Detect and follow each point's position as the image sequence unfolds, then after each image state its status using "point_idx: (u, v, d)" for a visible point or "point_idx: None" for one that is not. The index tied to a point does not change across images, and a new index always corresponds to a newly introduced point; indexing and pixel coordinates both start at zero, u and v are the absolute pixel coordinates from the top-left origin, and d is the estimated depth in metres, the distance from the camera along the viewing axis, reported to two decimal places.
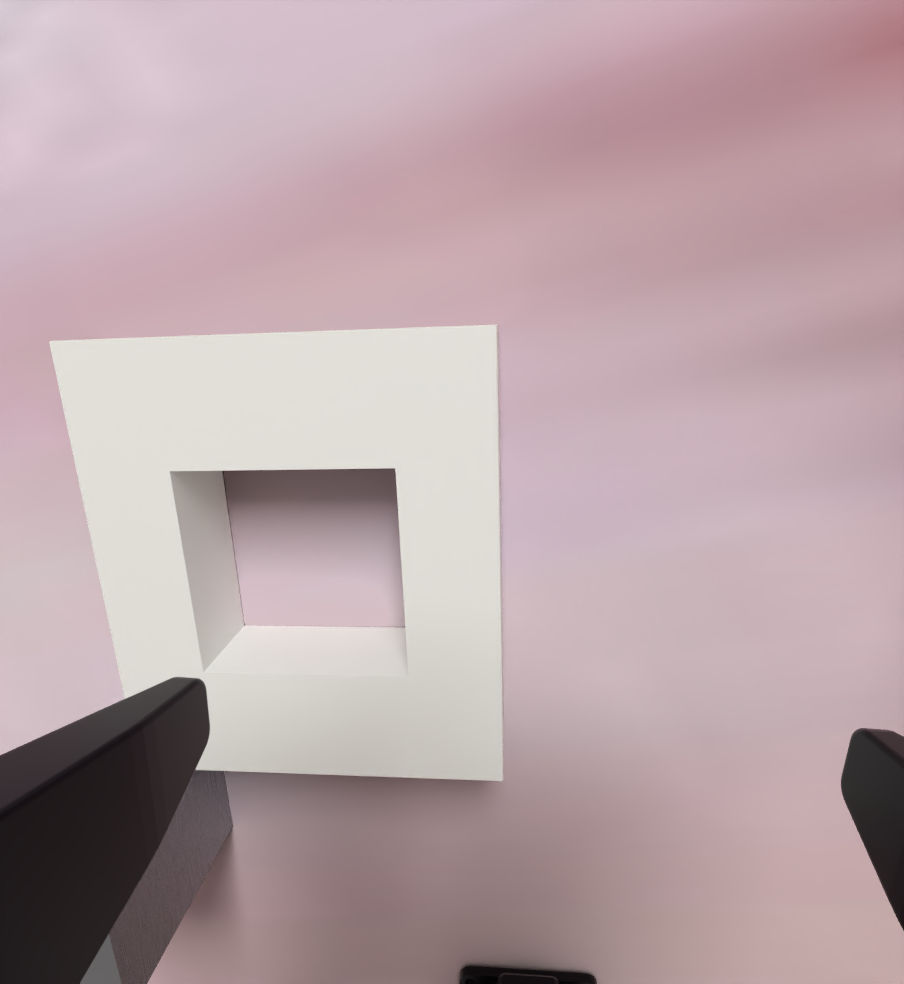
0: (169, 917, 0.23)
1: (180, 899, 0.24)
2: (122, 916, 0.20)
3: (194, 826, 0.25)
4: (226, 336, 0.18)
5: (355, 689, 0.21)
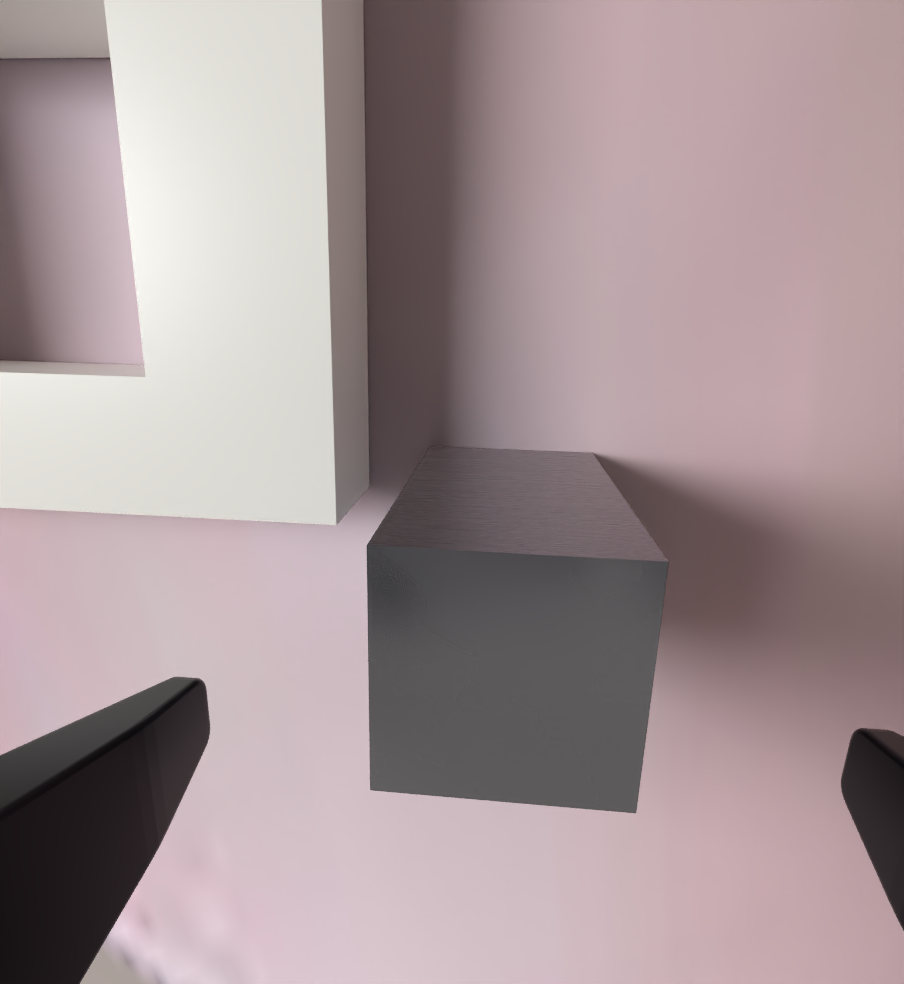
0: (583, 504, 0.12)
1: (580, 493, 0.12)
2: (433, 533, 0.10)
3: (492, 471, 0.14)
4: None
5: (140, 92, 0.12)
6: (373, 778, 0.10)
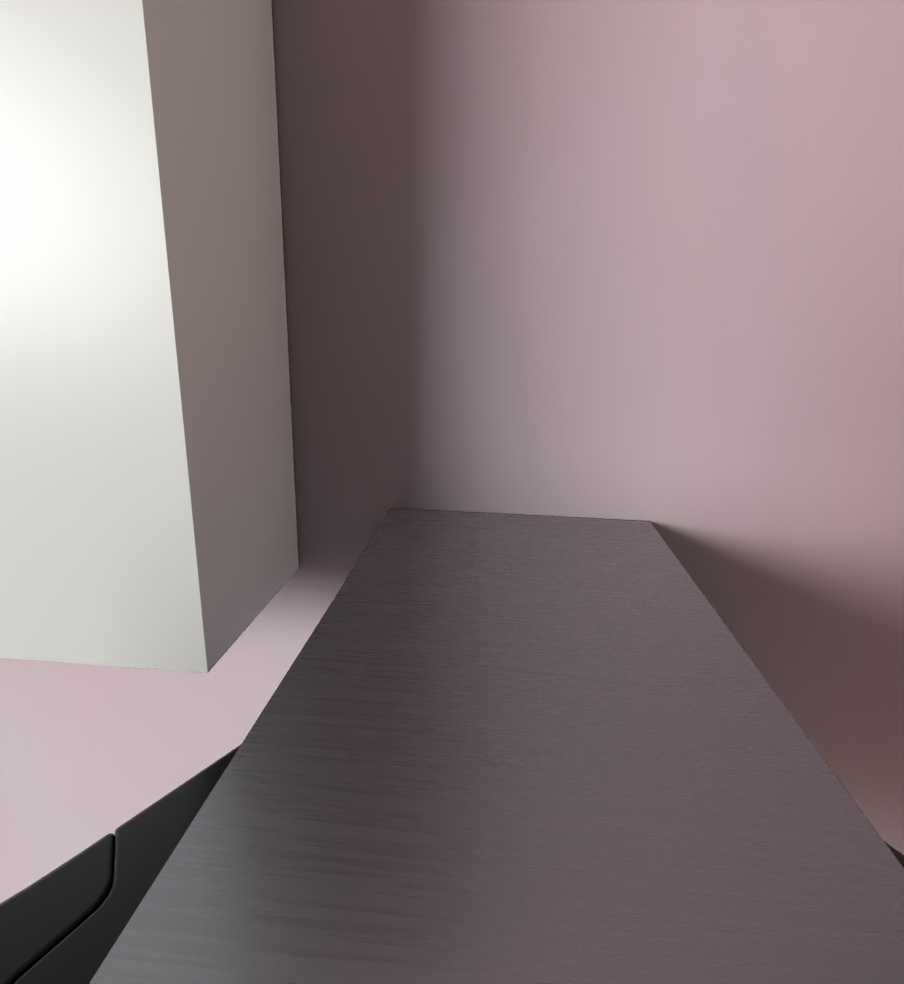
0: (682, 698, 0.05)
1: (664, 652, 0.06)
2: (318, 876, 0.04)
3: (487, 577, 0.08)
4: None
5: None
6: None
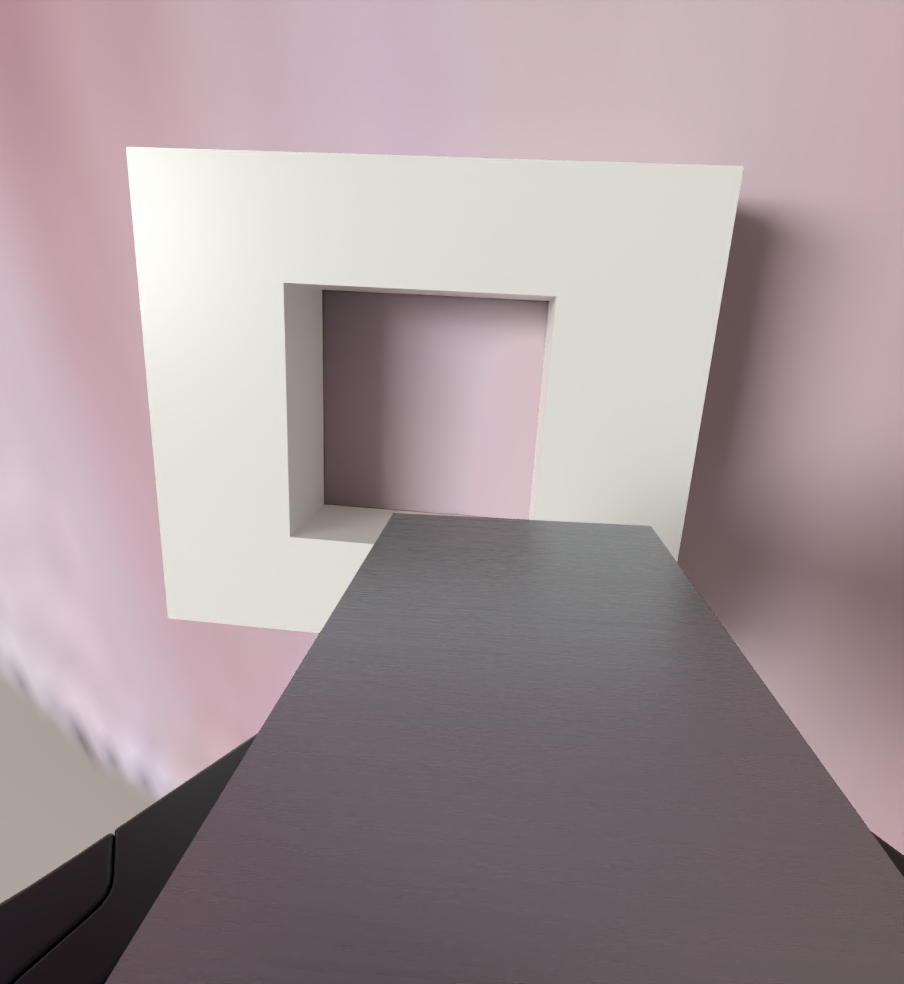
0: (685, 706, 0.05)
1: (666, 660, 0.06)
2: (322, 890, 0.04)
3: (488, 582, 0.08)
4: (154, 447, 0.18)
5: (569, 371, 0.16)
6: None
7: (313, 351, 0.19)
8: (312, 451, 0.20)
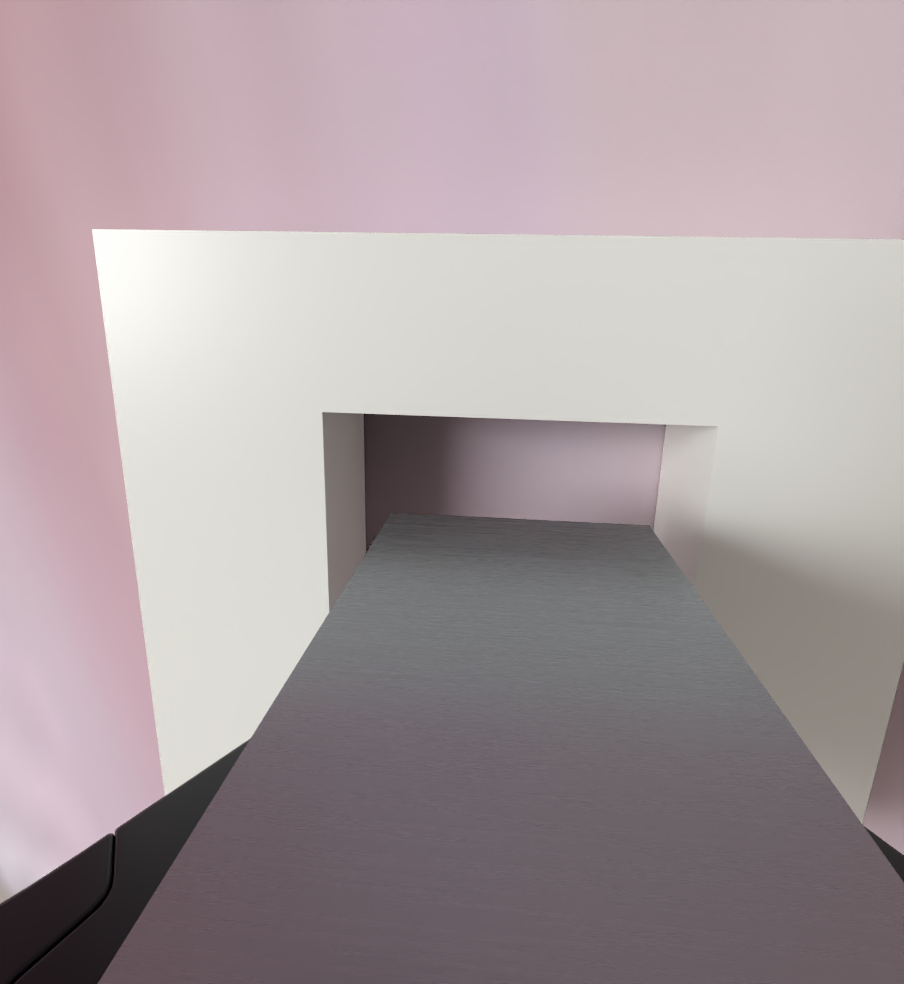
0: (682, 707, 0.05)
1: (664, 659, 0.06)
2: (317, 888, 0.04)
3: (486, 582, 0.08)
4: (144, 627, 0.13)
5: (733, 526, 0.12)
6: None
7: (355, 478, 0.15)
8: None
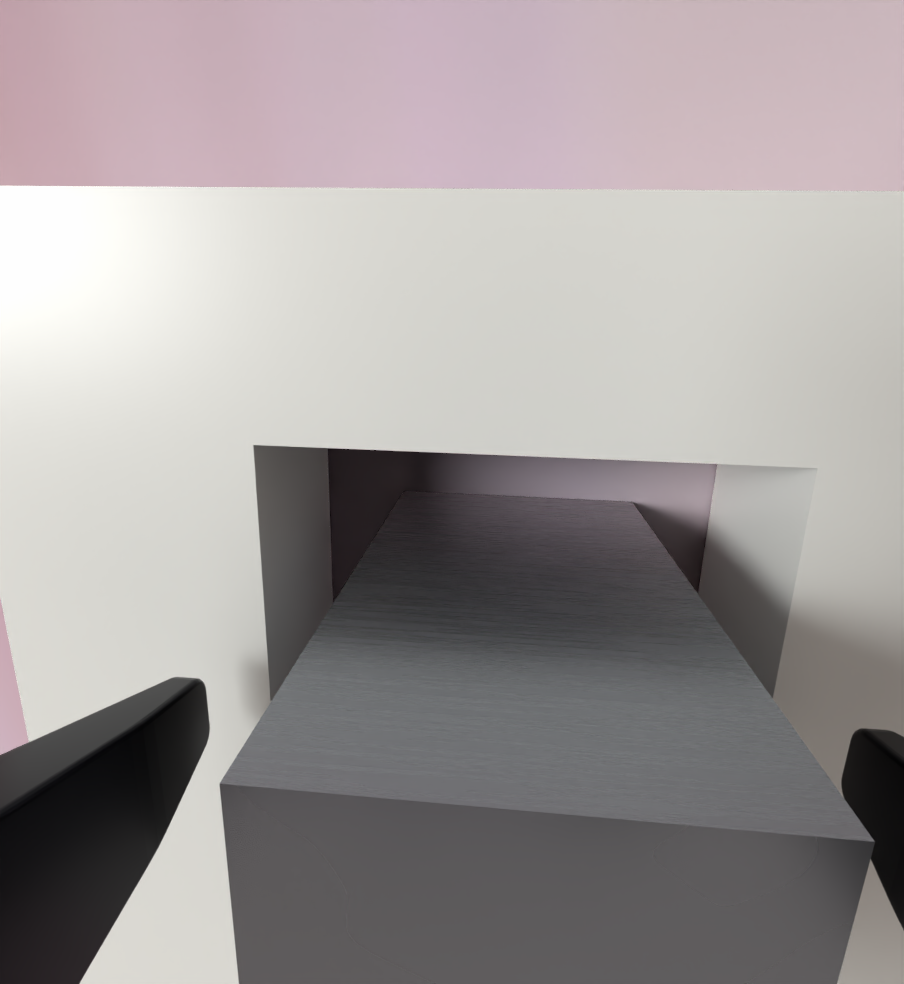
0: (646, 627, 0.07)
1: (634, 597, 0.07)
2: (367, 730, 0.05)
3: (488, 543, 0.09)
4: (28, 727, 0.10)
5: (832, 607, 0.08)
6: None
7: (314, 522, 0.11)
8: None
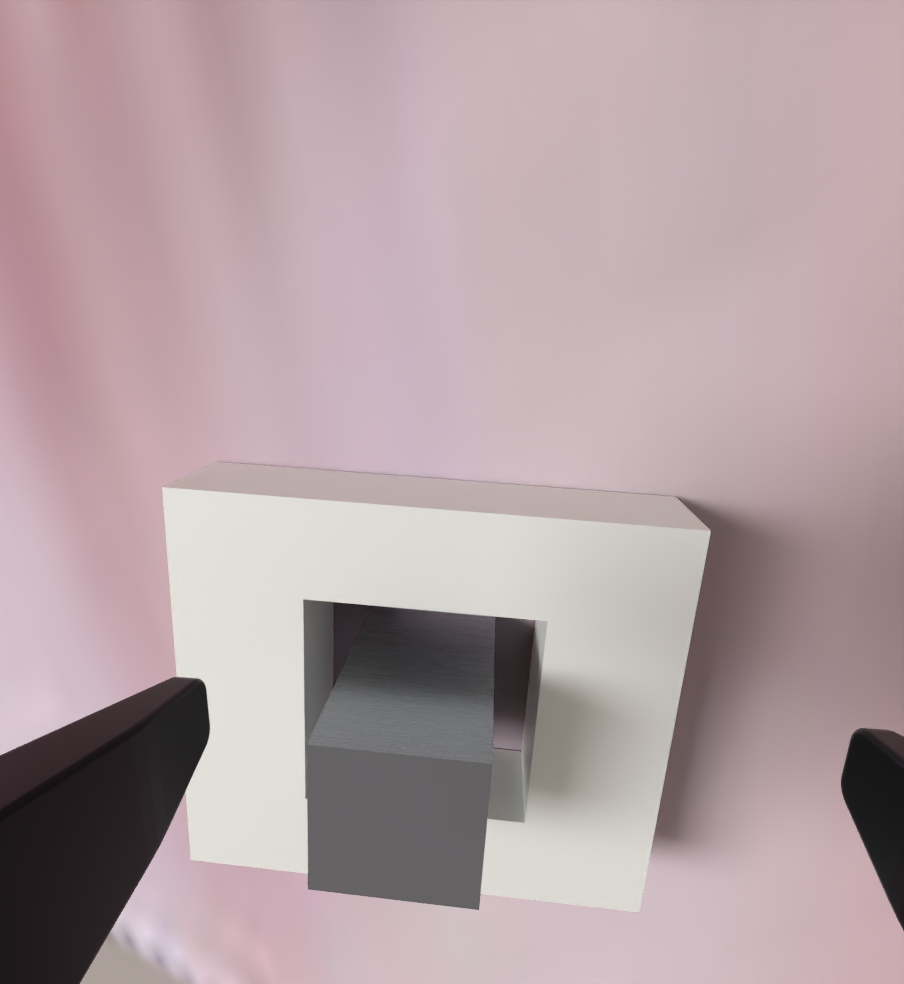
0: (463, 690, 0.17)
1: (465, 675, 0.18)
2: (351, 729, 0.15)
3: (411, 641, 0.19)
4: None
5: (559, 679, 0.18)
6: (310, 882, 0.16)
7: (326, 618, 0.21)
8: (324, 701, 0.22)
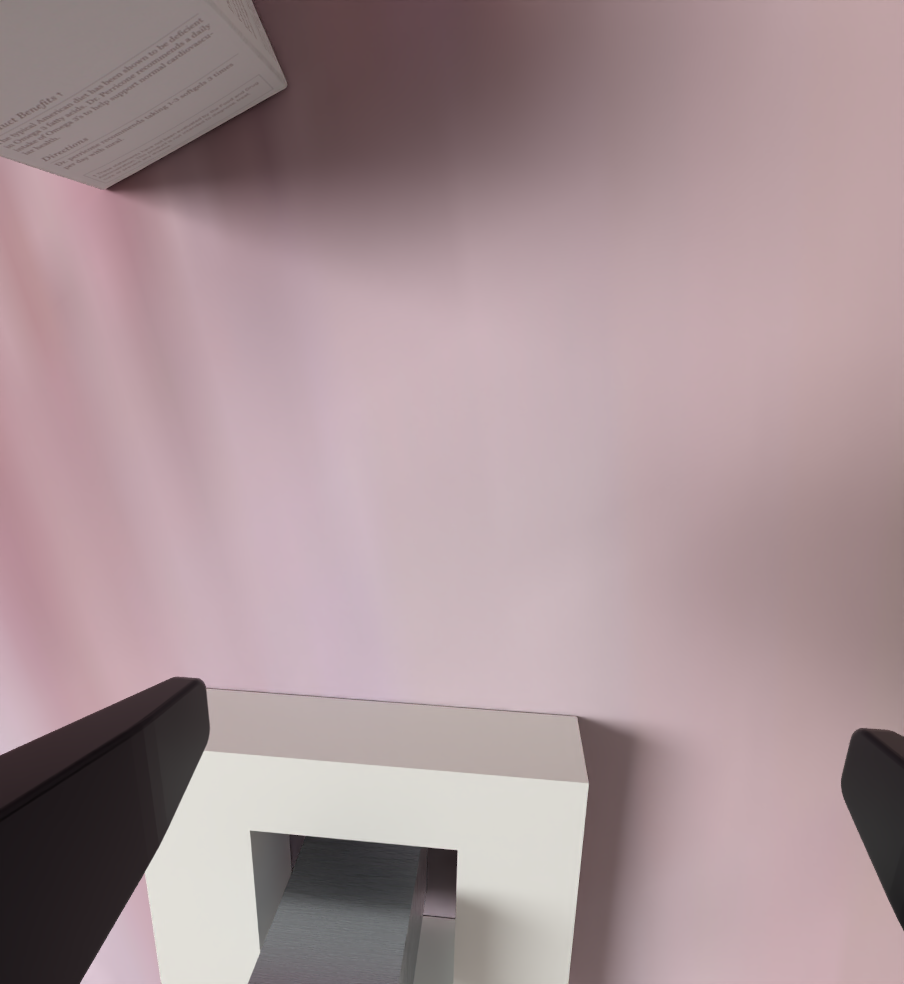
0: (382, 923, 0.20)
1: (387, 901, 0.21)
2: (280, 980, 0.18)
3: (346, 855, 0.22)
4: (153, 924, 0.23)
5: (471, 894, 0.21)
6: None
7: None
8: (280, 887, 0.25)
